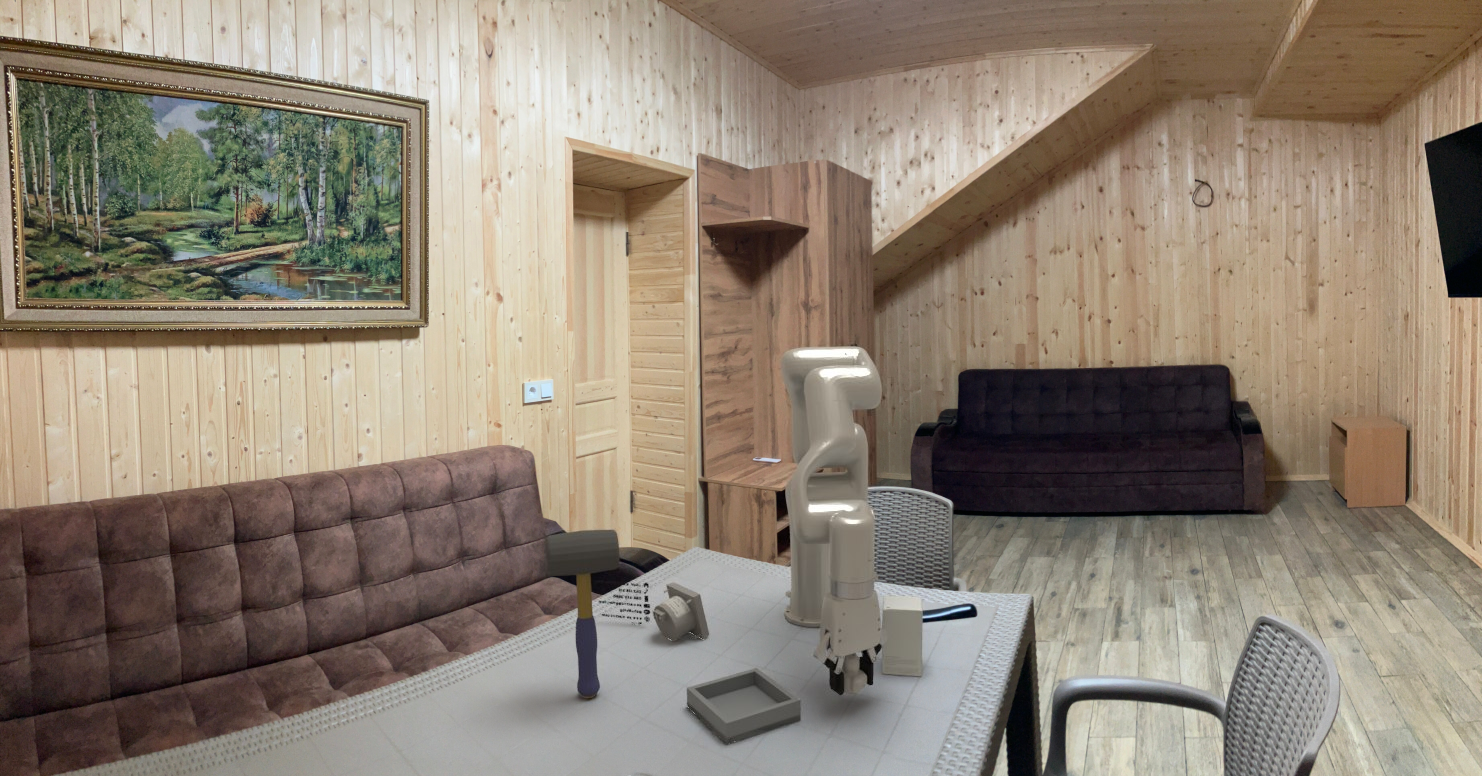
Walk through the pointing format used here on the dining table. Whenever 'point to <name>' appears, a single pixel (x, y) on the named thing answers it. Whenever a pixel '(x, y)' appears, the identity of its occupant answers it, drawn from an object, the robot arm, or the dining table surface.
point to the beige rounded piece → (853, 674)
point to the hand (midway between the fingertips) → (851, 685)
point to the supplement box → (902, 635)
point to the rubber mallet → (584, 589)
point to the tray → (743, 705)
